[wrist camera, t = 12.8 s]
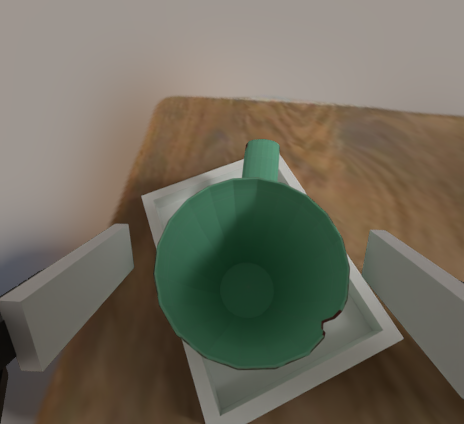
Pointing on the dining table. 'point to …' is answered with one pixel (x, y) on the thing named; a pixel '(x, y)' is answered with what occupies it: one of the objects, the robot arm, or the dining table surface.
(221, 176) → the cradle tray
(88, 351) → the dining table surface
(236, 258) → the mug
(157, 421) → the dining table surface
